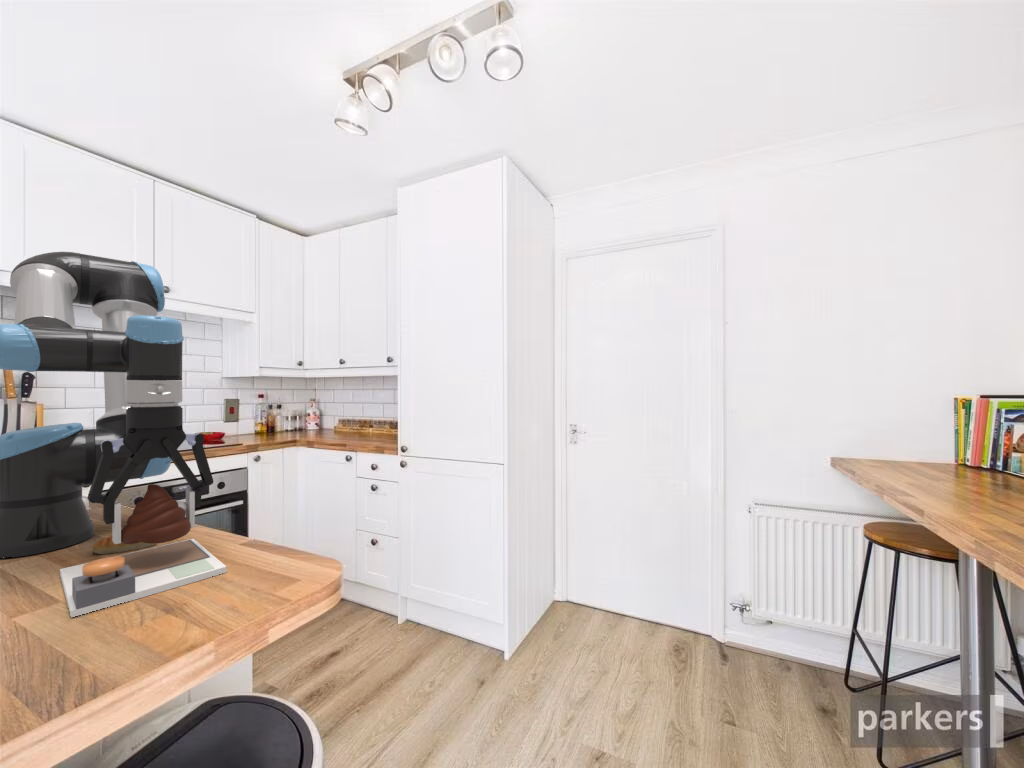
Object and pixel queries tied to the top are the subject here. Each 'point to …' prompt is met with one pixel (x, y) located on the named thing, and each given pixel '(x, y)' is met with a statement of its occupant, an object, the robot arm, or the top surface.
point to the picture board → (140, 576)
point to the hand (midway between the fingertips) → (155, 533)
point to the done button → (103, 568)
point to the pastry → (116, 546)
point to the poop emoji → (156, 519)
